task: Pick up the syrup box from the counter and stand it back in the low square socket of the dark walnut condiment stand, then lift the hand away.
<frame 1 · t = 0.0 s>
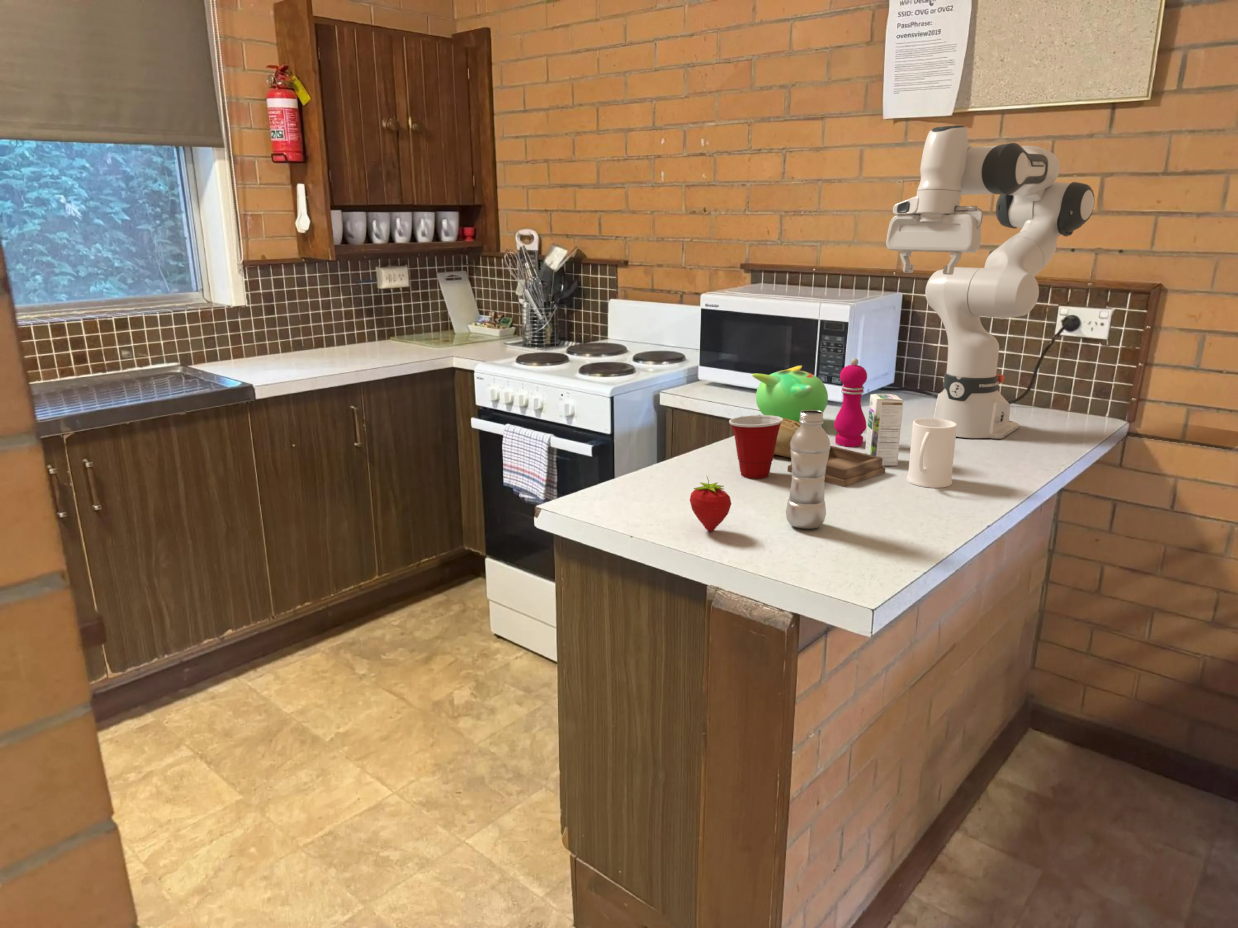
hand: (927, 273, 178), 39 cm above the counter, tool pointing down, fingers open, 8 cm apart
syrup box: (880, 463, 179), on the counter
toy bird: (789, 425, 213), on the counter
walnut stand: (835, 472, 172), on the counter
plastic bottle: (805, 527, 142), on the counter
pepper mill: (848, 444, 194), on the counter
plastic cup: (753, 475, 171), on the counter
strawberry: (709, 532, 140), on the counter
bread roll: (778, 455, 186), on the counter
mug: (925, 484, 164), on the counter
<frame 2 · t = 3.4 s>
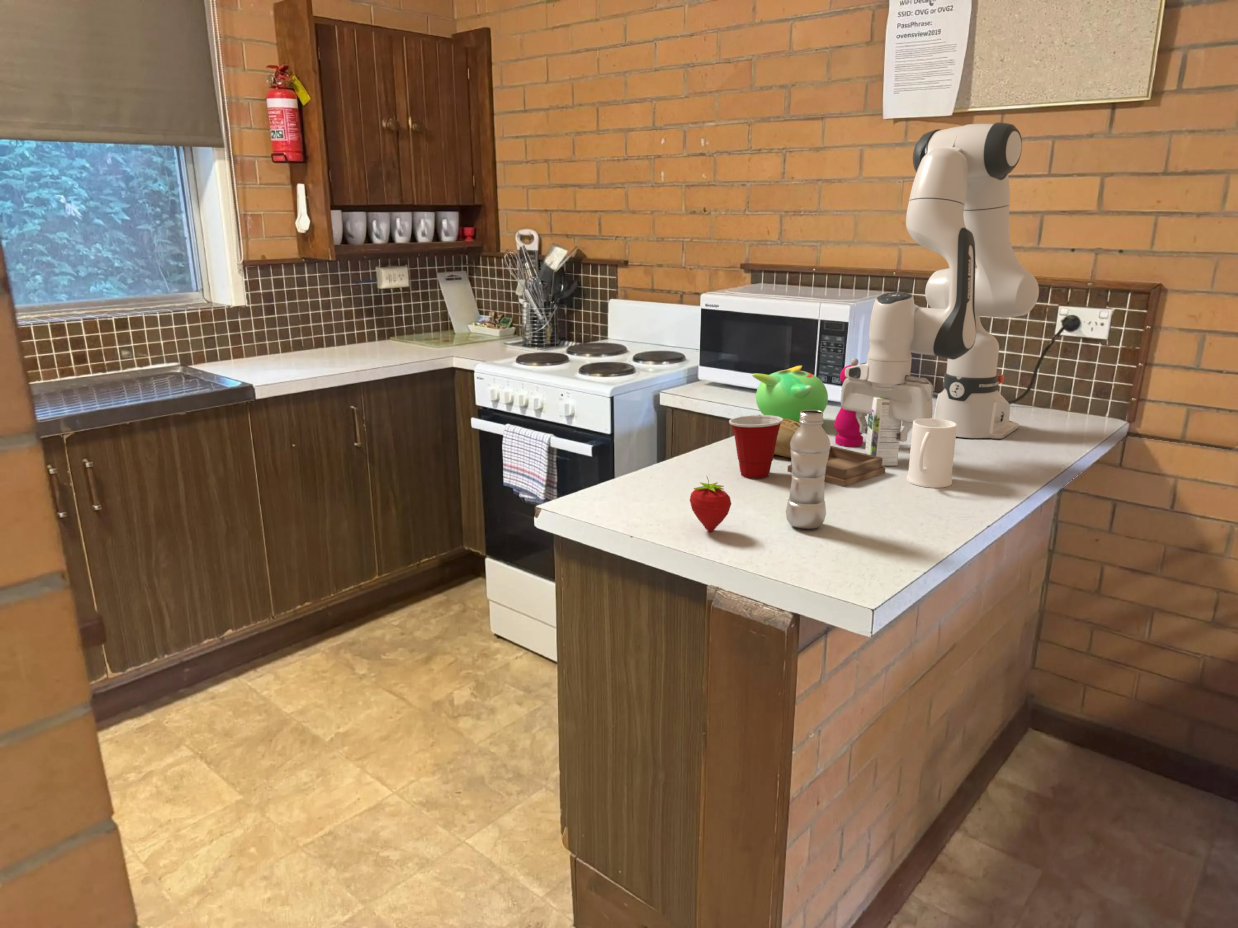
hand: (882, 436, 177), 6 cm above the counter, tool pointing down, fingers closed on syrup box, 8 cm apart
syrup box: (880, 463, 179), on the counter, touching gripper
everything else where it was.
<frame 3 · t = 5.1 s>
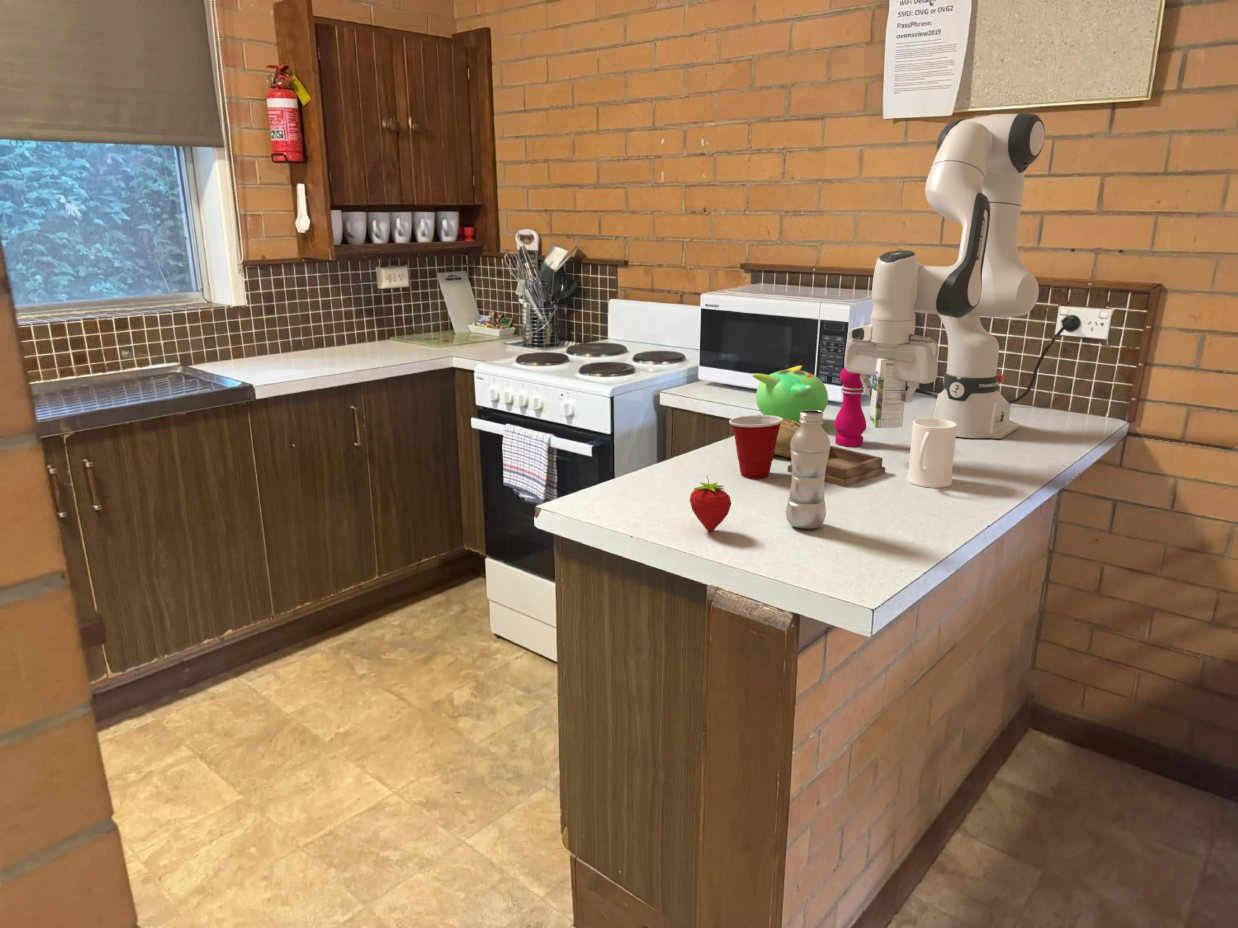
hand: (887, 398, 175), 14 cm above the counter, tool pointing down, fingers closed on syrup box, 8 cm apart
syrup box: (885, 425, 177), point 8 cm above the counter, touching gripper
everything else where it was.
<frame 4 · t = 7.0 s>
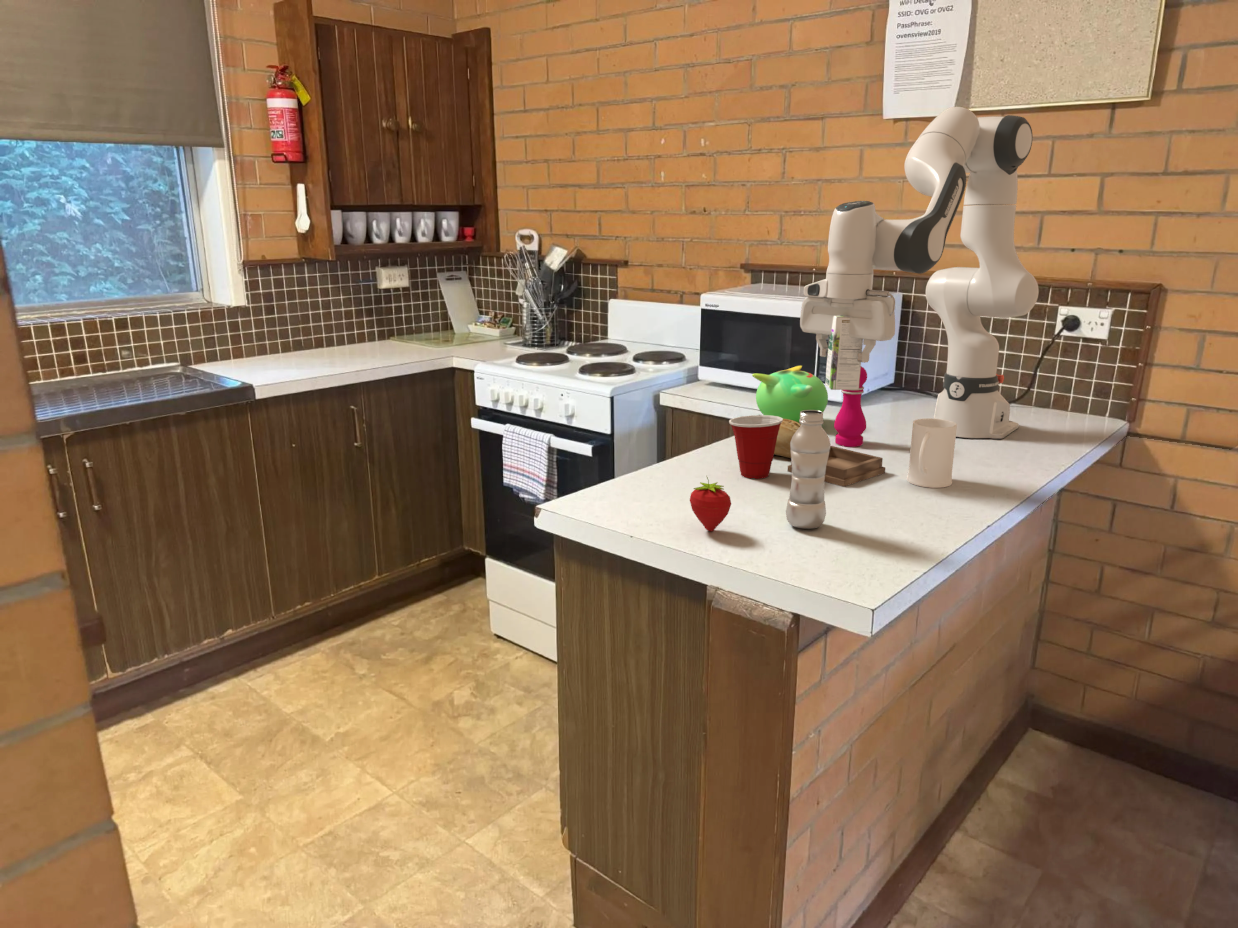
hand: (843, 359, 166), 23 cm above the counter, tool pointing down, fingers closed on syrup box, 8 cm apart
syrup box: (841, 388, 167), point 18 cm above the counter, touching gripper
everything else where it was.
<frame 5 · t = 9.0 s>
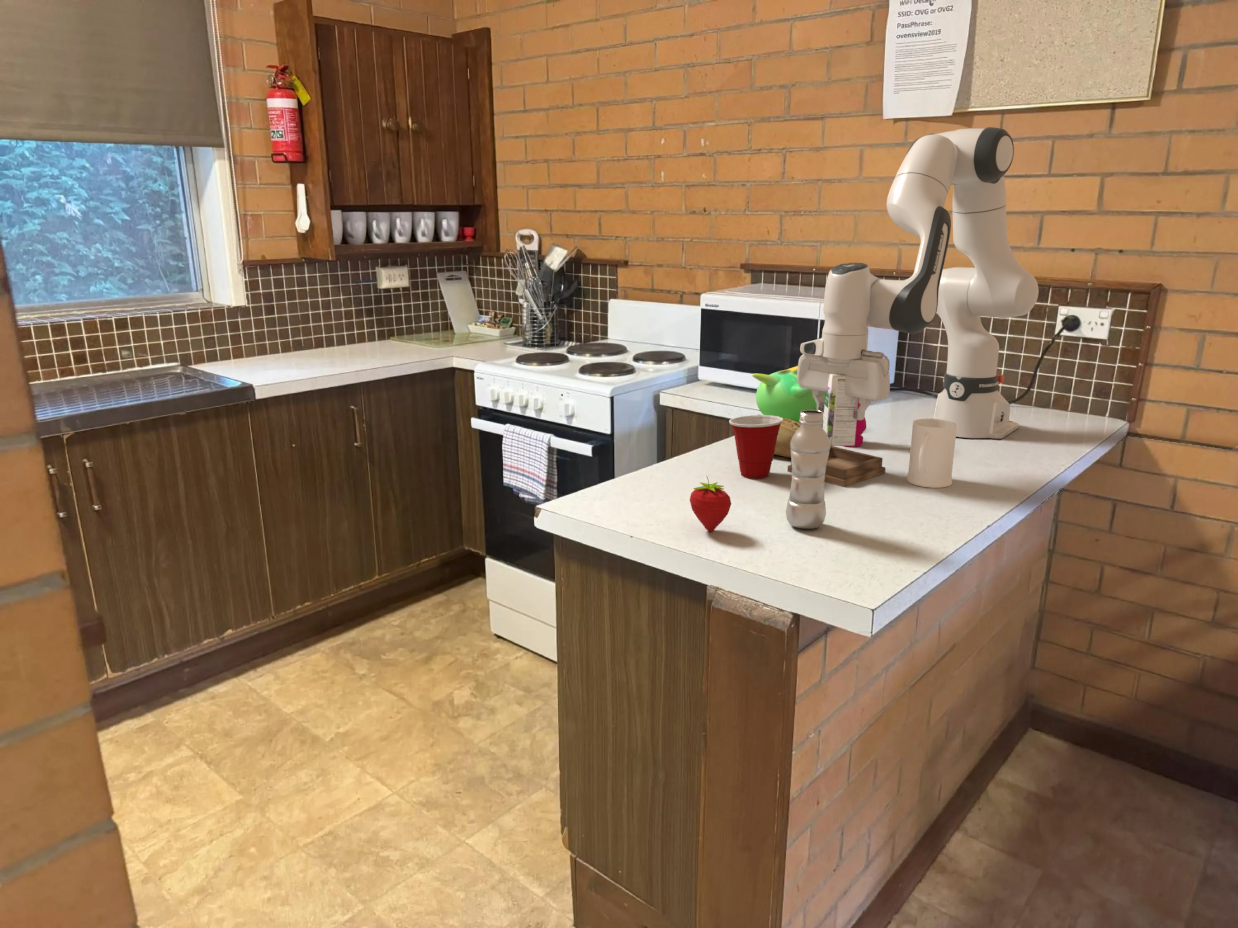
hand: (839, 415, 169), 12 cm above the counter, tool pointing down, fingers closed on syrup box, 8 cm apart
syrup box: (838, 443, 171), point 6 cm above the counter, touching gripper
everything else where it was.
when the fingers open (7 cm above the counter, at t = 10.6 s): syrup box stays where it is, resting on walnut stand.
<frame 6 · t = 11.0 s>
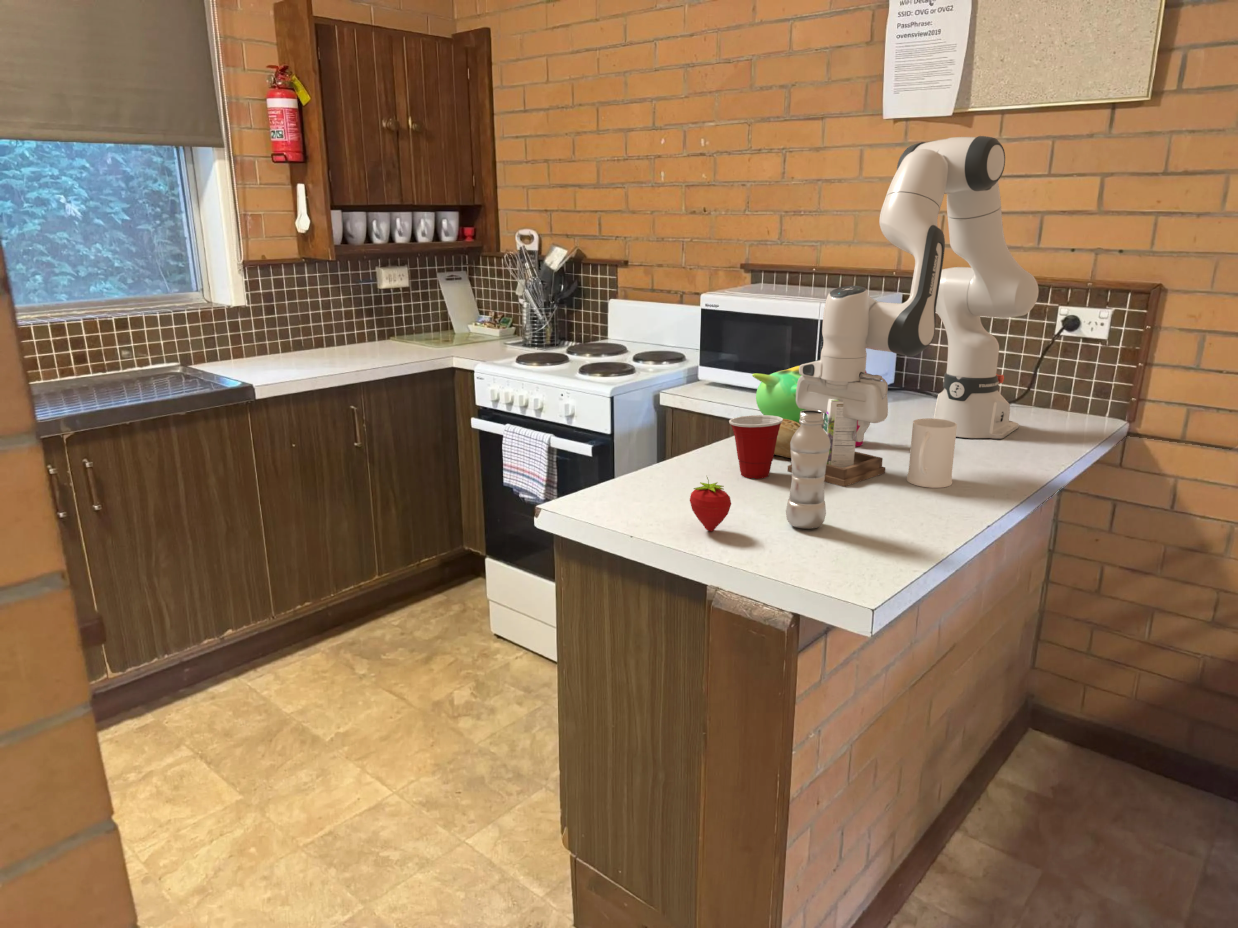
hand: (838, 436, 170), 8 cm above the counter, tool pointing down, fingers open, 8 cm apart
syrup box: (837, 467, 172), point 1 cm above the counter, touching walnut stand
everything else where it was.
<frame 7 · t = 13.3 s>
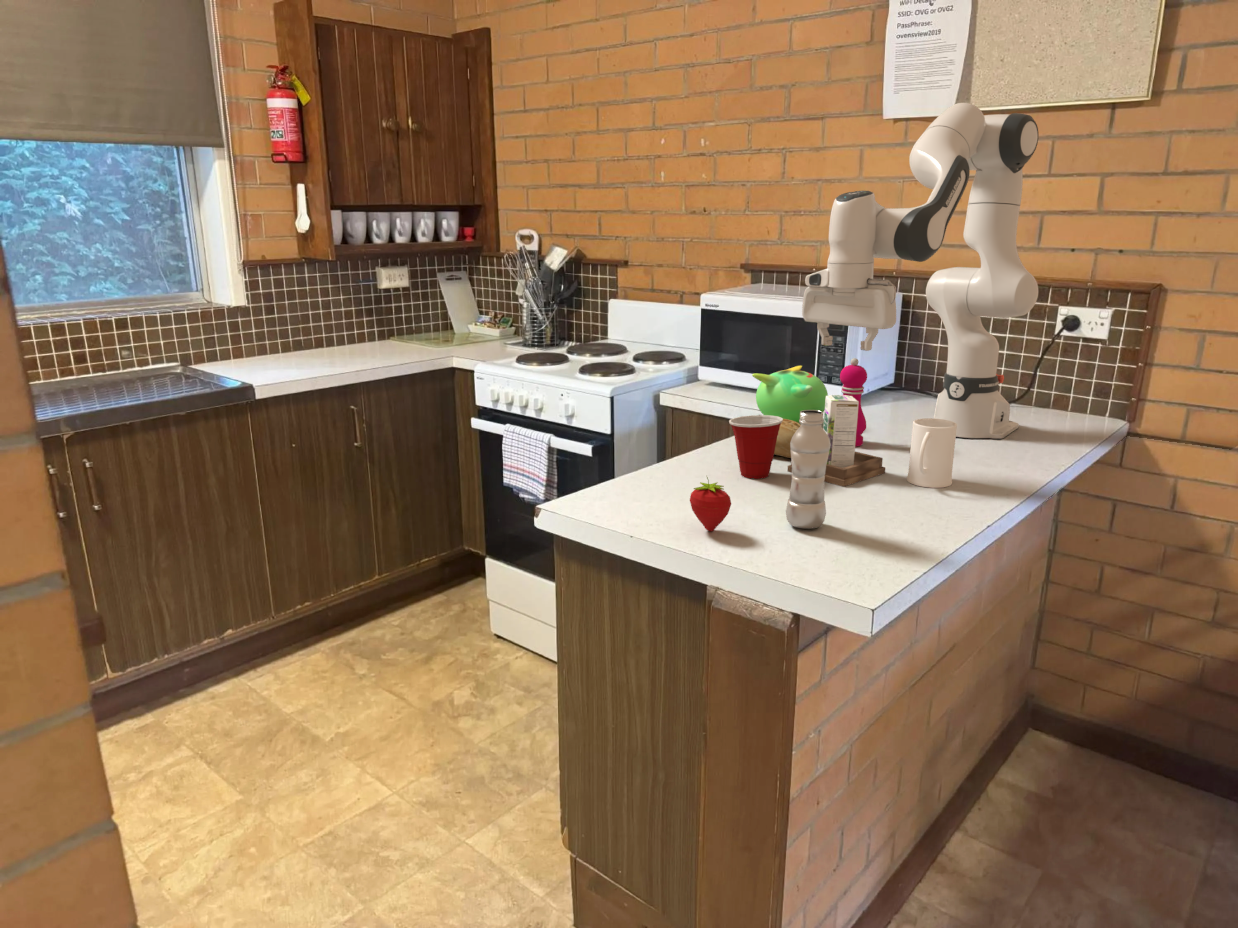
hand: (845, 347, 168), 25 cm above the counter, tool pointing down, fingers open, 8 cm apart
nothing on the counter moved.
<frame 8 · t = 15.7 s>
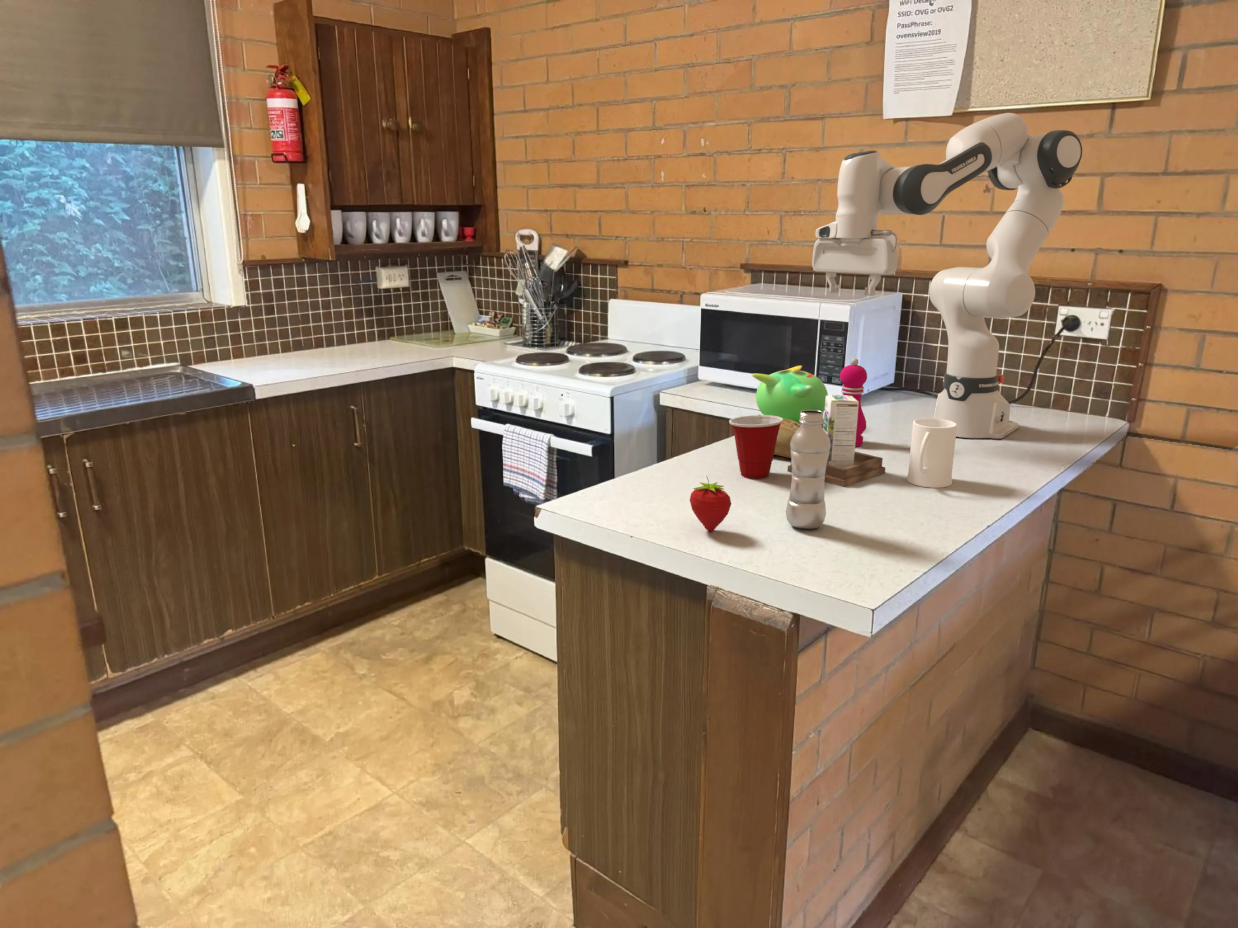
hand: (851, 294, 186), 34 cm above the counter, tool pointing down, fingers open, 8 cm apart
nothing on the counter moved.
at the end: syrup box 0.2 cm off-centre on the walnut stand, point 1.0 cm above the walnut stand's base; syrup box tilted 0°; the gripper is holding nothing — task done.
